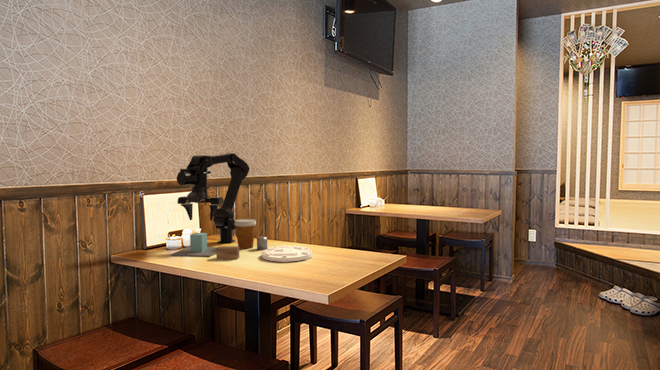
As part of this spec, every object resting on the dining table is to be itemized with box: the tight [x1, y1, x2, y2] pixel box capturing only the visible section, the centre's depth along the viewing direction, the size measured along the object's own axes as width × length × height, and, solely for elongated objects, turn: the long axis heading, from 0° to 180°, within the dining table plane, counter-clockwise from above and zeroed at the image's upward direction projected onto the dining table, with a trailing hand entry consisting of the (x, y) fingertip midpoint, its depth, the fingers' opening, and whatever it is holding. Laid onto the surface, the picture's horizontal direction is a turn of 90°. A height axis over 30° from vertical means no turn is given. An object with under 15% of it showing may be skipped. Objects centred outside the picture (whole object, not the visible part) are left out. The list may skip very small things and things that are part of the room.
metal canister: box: [256, 236, 268, 251], centre depth 184 cm, size 4×4×5 cm
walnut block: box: [216, 245, 240, 260], centre depth 166 cm, size 4×8×4 cm, turn 90°
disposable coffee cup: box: [234, 218, 257, 250], centre depth 187 cm, size 10×10×12 cm
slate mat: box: [170, 245, 218, 258], centre depth 177 cm, size 16×16×1 cm
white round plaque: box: [261, 245, 313, 263], centre depth 169 cm, size 20×20×3 cm
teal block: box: [189, 232, 208, 252], centre depth 177 cm, size 5×5×7 cm
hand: (200, 220), depth 186 cm, fingers open, 9 cm apart
